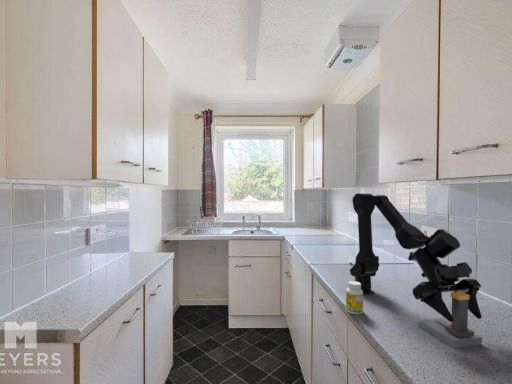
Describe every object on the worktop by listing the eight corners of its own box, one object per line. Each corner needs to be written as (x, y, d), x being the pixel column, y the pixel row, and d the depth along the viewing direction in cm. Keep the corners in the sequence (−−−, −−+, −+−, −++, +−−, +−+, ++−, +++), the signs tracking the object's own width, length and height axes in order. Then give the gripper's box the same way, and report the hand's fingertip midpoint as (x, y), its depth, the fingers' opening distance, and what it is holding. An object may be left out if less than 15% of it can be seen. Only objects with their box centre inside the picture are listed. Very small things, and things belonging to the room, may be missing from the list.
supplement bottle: (366, 314, 87) (366, 285, 87) (351, 315, 86) (351, 286, 86) (356, 307, 92) (357, 279, 92) (342, 308, 91) (343, 280, 91)
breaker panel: (419, 326, 79) (419, 320, 79) (444, 324, 81) (444, 317, 81) (454, 348, 69) (454, 340, 69) (481, 344, 71) (481, 336, 71)
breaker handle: (445, 329, 73) (445, 291, 73) (459, 327, 74) (460, 290, 74) (458, 337, 70) (459, 297, 69) (474, 335, 71) (474, 295, 71)
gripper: (421, 253, 73) (458, 310, 63) (475, 251, 77) (519, 304, 67) (399, 272, 81) (429, 327, 70) (449, 270, 85) (485, 320, 74)
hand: (466, 319), depth 70 cm, fingers open, 9 cm apart
